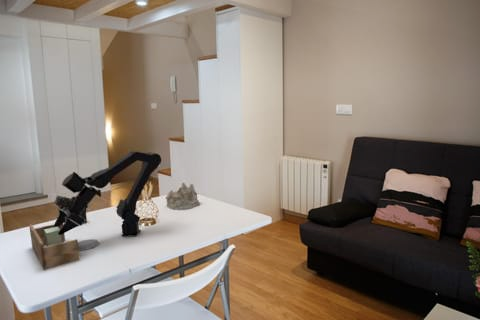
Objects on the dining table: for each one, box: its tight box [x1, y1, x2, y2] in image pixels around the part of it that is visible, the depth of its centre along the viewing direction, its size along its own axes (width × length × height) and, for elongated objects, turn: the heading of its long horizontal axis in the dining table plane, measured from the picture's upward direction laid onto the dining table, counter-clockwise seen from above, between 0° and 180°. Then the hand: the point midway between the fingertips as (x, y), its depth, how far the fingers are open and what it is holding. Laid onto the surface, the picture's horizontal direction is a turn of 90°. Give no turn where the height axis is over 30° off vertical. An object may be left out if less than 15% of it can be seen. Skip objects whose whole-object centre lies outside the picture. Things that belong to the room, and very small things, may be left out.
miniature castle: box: [165, 182, 200, 211], centre depth 204 cm, size 16×16×15 cm
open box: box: [28, 223, 81, 270], centre depth 146 cm, size 12×25×10 cm, turn 37°
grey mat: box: [78, 239, 100, 251], centre depth 154 cm, size 10×10×1 cm
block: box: [44, 227, 63, 247], centre depth 146 cm, size 5×5×10 cm
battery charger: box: [81, 208, 88, 224], centre depth 179 cm, size 7×4×11 cm, turn 126°
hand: (56, 231), depth 146 cm, fingers open, 9 cm apart
